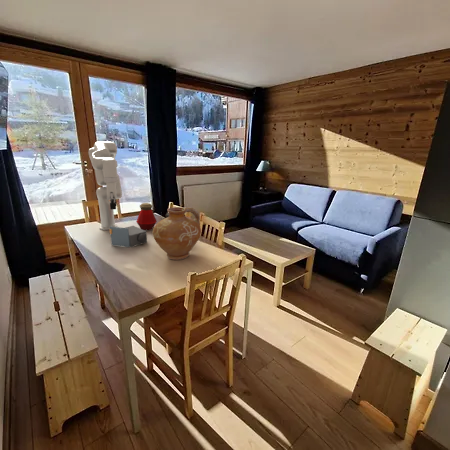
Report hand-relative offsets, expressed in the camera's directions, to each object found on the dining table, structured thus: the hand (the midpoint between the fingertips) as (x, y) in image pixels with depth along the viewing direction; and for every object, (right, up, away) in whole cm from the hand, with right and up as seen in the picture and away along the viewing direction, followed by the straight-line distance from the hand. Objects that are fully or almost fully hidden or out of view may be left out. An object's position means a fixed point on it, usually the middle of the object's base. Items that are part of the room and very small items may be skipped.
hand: (113, 207), depth 158 cm
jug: (+42, -30, -5) cm, 52 cm away
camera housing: (+8, -23, +12) cm, 27 cm away
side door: (+3, -25, +3) cm, 25 cm away
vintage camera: (+35, -20, +24) cm, 47 cm away
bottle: (+9, -14, +39) cm, 42 cm away
